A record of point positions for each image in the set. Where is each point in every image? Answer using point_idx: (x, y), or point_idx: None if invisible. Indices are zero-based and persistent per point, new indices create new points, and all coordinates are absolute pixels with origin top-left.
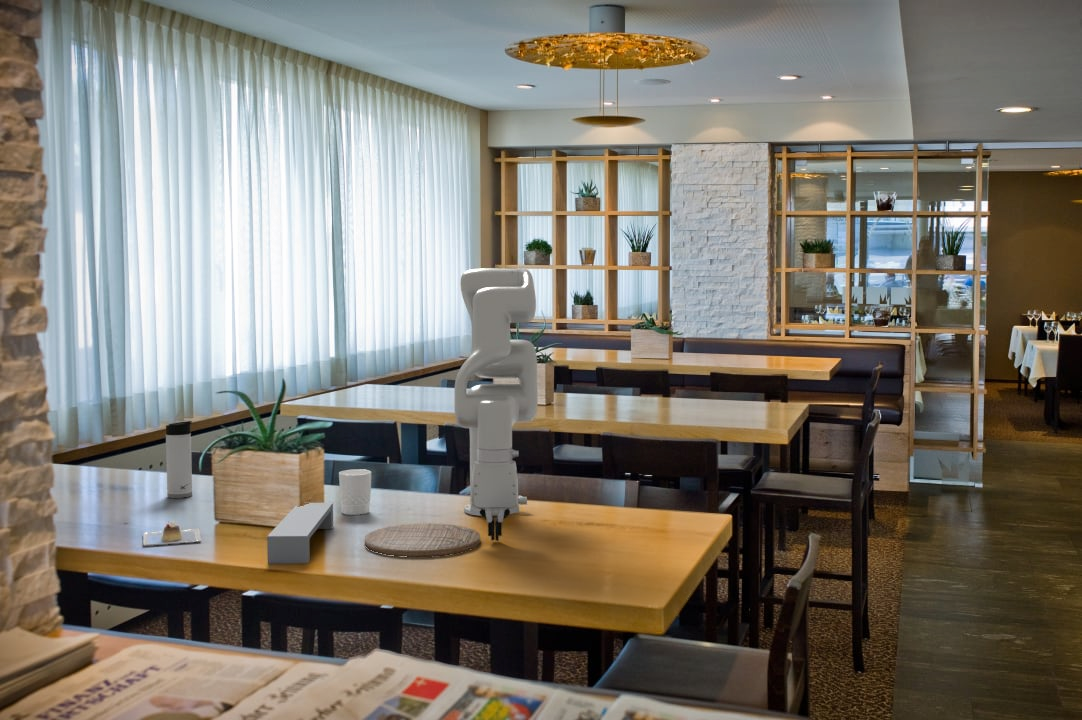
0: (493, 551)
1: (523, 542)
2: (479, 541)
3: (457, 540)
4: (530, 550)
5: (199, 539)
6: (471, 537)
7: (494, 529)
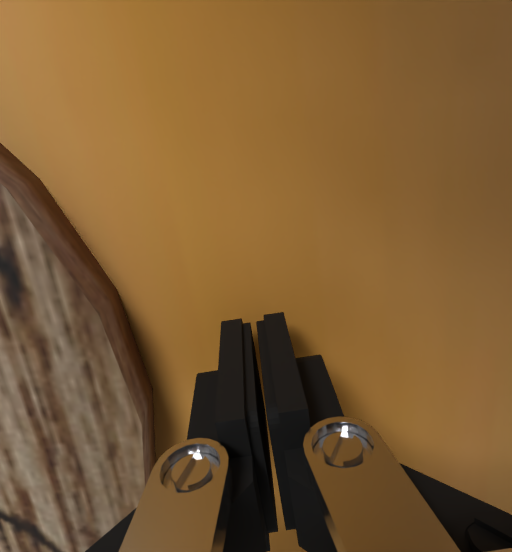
0: (282, 535)
1: (472, 315)
2: (149, 410)
3: (9, 539)
4: (501, 490)
5: None
6: (80, 451)
7: (272, 482)
